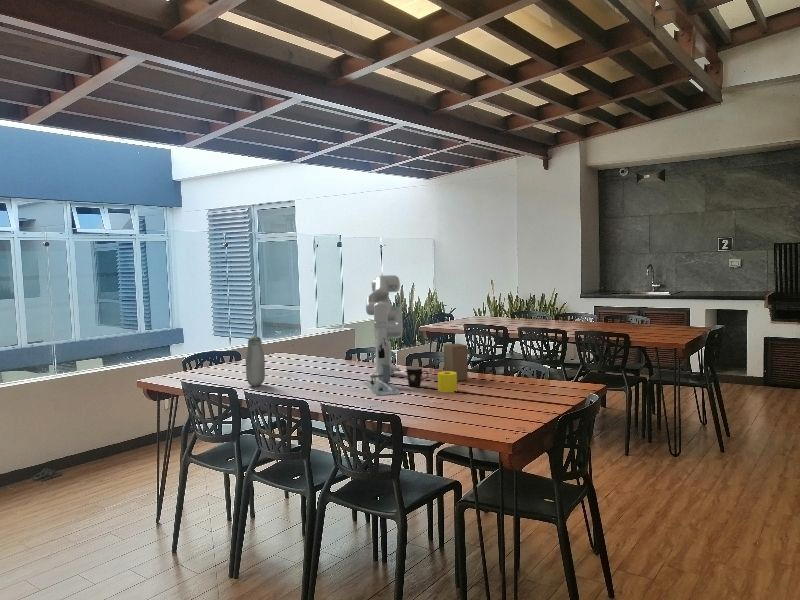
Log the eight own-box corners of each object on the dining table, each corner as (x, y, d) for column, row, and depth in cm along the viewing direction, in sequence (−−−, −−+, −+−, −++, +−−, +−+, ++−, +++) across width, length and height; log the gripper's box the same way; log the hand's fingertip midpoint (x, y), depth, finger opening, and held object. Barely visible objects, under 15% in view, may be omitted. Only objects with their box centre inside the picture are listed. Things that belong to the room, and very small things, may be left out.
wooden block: (467, 380, 348) (467, 345, 347) (452, 381, 344) (452, 346, 342) (458, 377, 357) (458, 343, 356) (444, 378, 353) (443, 344, 351)
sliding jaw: (387, 380, 335) (387, 364, 335) (390, 382, 331) (389, 365, 330) (372, 382, 333) (371, 365, 332) (374, 383, 328) (373, 366, 327)
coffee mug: (403, 386, 334) (403, 368, 334) (413, 383, 341) (413, 366, 340) (419, 389, 326) (419, 370, 326) (429, 386, 333) (429, 368, 332)
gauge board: (384, 382, 345) (384, 372, 344) (399, 393, 316) (398, 382, 316) (363, 384, 342) (363, 373, 341) (376, 395, 313) (376, 384, 312)
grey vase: (260, 387, 338) (259, 337, 336) (243, 387, 340) (241, 337, 338) (268, 384, 347) (266, 335, 346) (251, 383, 349) (249, 335, 348)
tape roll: (436, 389, 326) (436, 371, 325) (455, 388, 327) (454, 371, 326) (439, 393, 316) (439, 375, 315) (458, 392, 317) (458, 374, 316)
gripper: (371, 324, 344) (371, 356, 344) (377, 326, 329) (378, 360, 330) (384, 323, 346) (384, 356, 346) (391, 325, 331) (391, 359, 332)
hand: (381, 357), depth 338 cm, fingers closed
